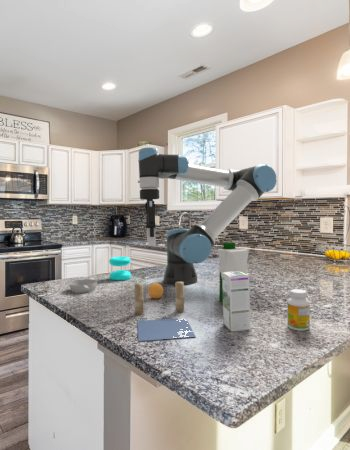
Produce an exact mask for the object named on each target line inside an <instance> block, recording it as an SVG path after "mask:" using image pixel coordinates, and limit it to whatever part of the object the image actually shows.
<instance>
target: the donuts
mask: <svg viewBox="0 0 350 450" xmlns="http://www.w3.org/2000/svg"><path fill="white" fill-rule="evenodd" d="M131 261H132V260H131V258H130V257H129V256H113V257H111V258H110V259H109V260H108V263H109V264H110V265H111V266H113V267H124V266H128V265H129V264H131ZM131 277H132V273H131V272H130V271H128V270H123V269H119V270H114V271H112V272H111V273H109V279H110V280H112V281H125V280H129V279H130V278H131Z"/></svg>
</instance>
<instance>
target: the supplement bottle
mask: <svg viewBox="0 0 350 450" xmlns="http://www.w3.org/2000/svg"><path fill="white" fill-rule="evenodd" d="M289 295H290V297H288V299H287V327H288V329H291V330H295V331H299V332H302V331H303V332H304V331H308V330H309V329H310V316H311V315H310V312H311V311H310V307H311V306H310V304H311V303H310V301H309V299H307V295H308V292H307V290H304V289H302V288H301V289H300V288H293V289H290V293H289Z"/></svg>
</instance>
